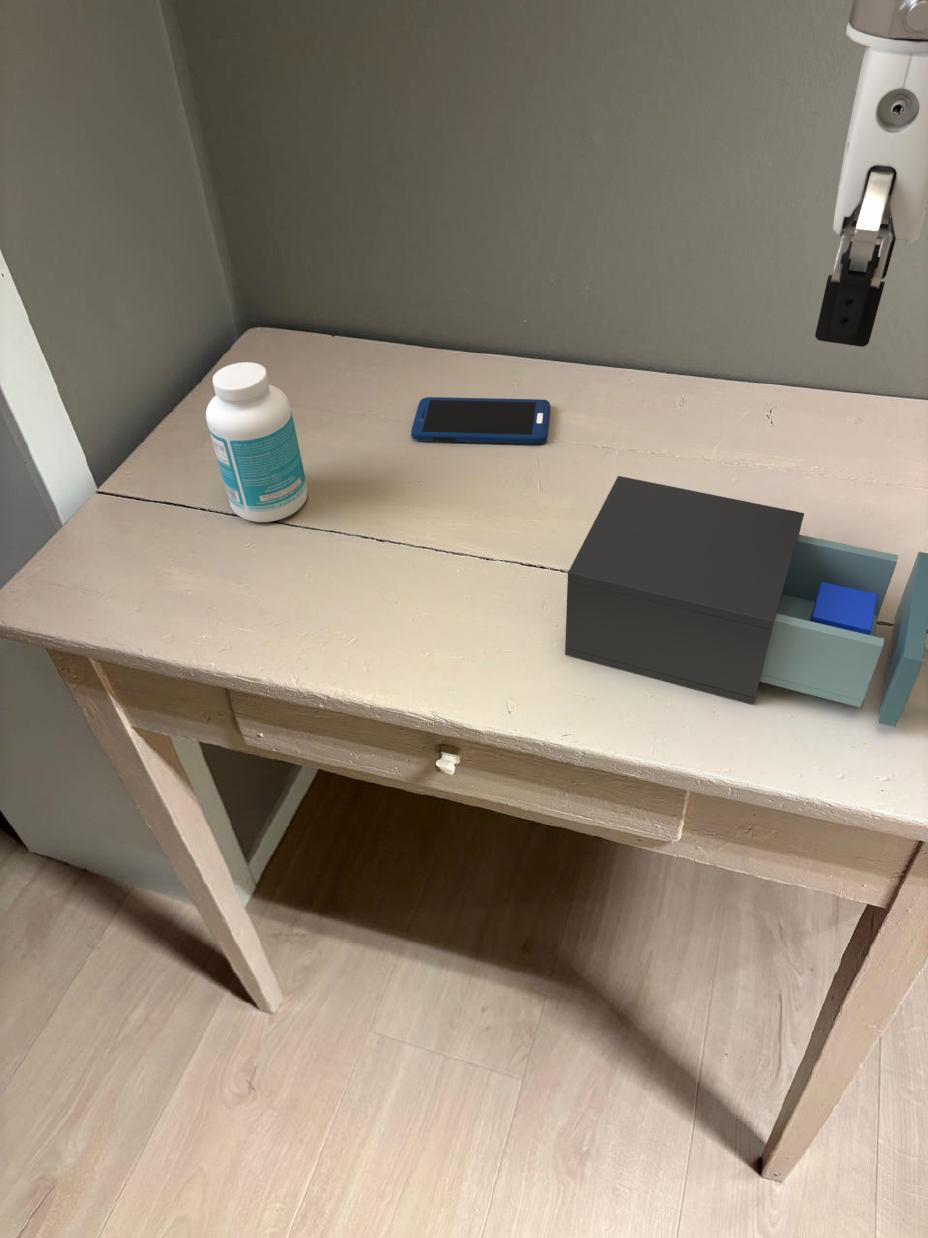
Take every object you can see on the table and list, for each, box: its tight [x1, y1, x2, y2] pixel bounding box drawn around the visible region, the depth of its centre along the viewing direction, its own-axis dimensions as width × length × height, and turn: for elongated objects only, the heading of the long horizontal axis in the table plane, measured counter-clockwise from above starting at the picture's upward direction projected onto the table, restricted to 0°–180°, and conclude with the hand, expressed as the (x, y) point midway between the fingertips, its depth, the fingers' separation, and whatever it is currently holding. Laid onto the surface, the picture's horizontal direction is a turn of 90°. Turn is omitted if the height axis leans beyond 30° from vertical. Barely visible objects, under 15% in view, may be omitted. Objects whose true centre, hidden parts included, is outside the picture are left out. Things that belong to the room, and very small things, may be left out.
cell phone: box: [410, 396, 552, 445], centre depth 99 cm, size 7×14×1 cm, turn 83°
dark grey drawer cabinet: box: [564, 475, 805, 705], centre depth 74 cm, size 15×13×9 cm
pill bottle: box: [205, 361, 309, 523], centre depth 87 cm, size 8×7×14 cm
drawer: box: [760, 534, 928, 728], centre depth 70 cm, size 18×11×7 cm, turn 67°
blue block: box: [810, 582, 877, 635], centre depth 70 cm, size 4×4×4 cm
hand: (851, 306), depth 63 cm, fingers open, 9 cm apart
